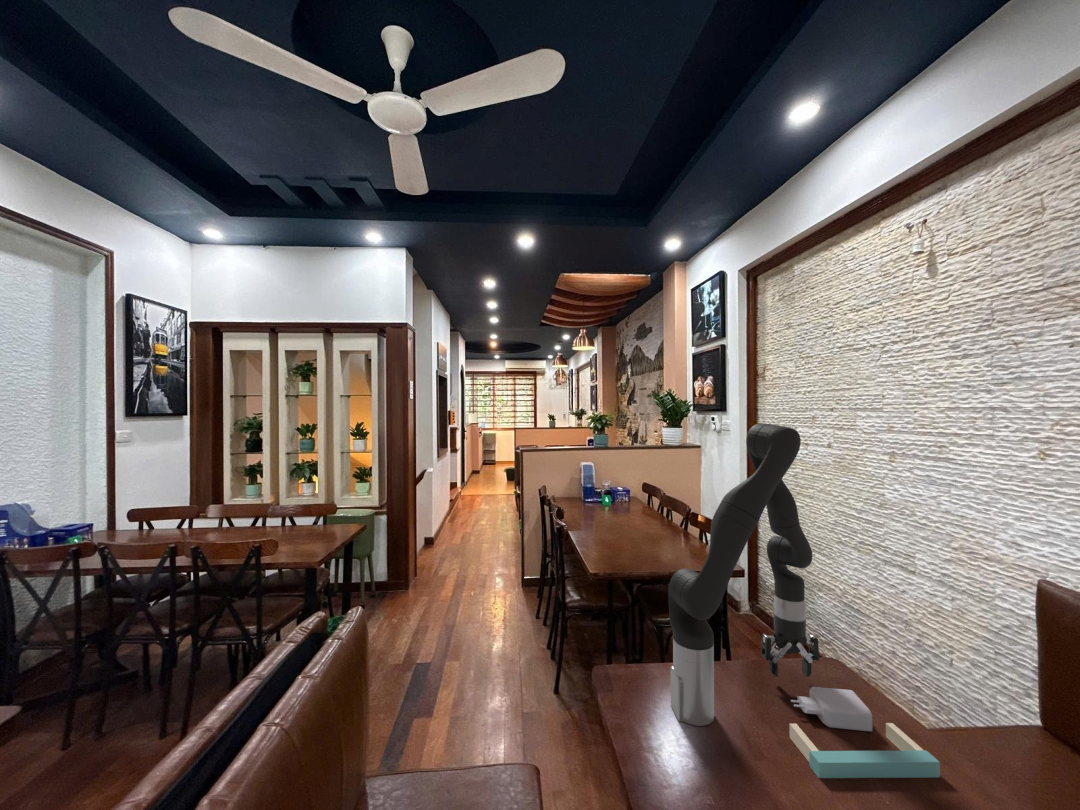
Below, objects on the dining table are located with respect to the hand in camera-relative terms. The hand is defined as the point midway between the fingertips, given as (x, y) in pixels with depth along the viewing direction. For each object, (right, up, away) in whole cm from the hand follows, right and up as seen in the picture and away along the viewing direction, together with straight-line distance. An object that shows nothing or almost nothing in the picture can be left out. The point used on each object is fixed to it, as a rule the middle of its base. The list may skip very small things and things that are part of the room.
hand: (790, 675), depth 118 cm
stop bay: (0, -2, -25) cm, 25 cm away
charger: (+1, -2, -13) cm, 13 cm away
